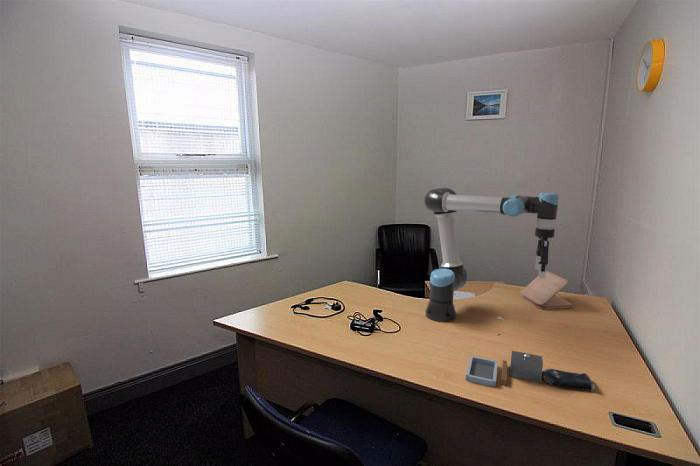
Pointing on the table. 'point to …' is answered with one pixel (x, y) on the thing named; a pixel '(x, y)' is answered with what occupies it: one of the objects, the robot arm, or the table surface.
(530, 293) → the case
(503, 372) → the door edge strip
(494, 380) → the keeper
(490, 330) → the table surface
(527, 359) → the grey block with knob
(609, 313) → the table surface
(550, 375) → the electronic device
